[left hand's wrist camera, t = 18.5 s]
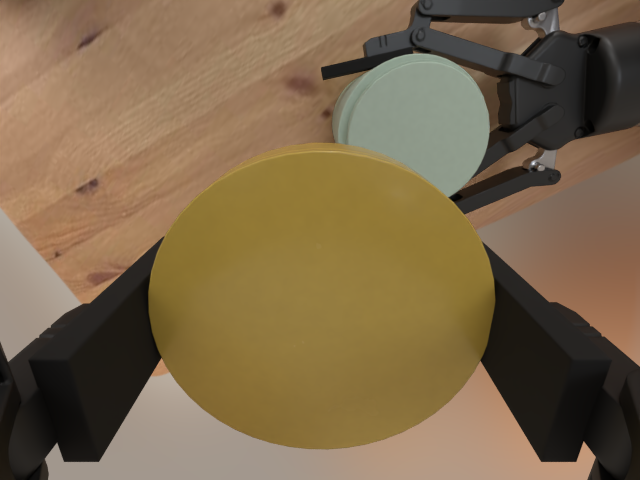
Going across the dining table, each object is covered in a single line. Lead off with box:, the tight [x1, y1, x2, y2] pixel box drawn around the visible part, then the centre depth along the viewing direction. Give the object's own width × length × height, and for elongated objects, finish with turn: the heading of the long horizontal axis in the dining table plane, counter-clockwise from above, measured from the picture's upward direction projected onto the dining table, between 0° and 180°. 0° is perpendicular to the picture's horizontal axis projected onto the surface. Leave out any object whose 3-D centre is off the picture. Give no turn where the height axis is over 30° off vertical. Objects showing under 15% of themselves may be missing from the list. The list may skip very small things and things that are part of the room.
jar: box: [332, 54, 490, 197], centre depth 28 cm, size 9×9×15 cm
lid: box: [148, 143, 495, 449], centre depth 11 cm, size 10×10×2 cm
